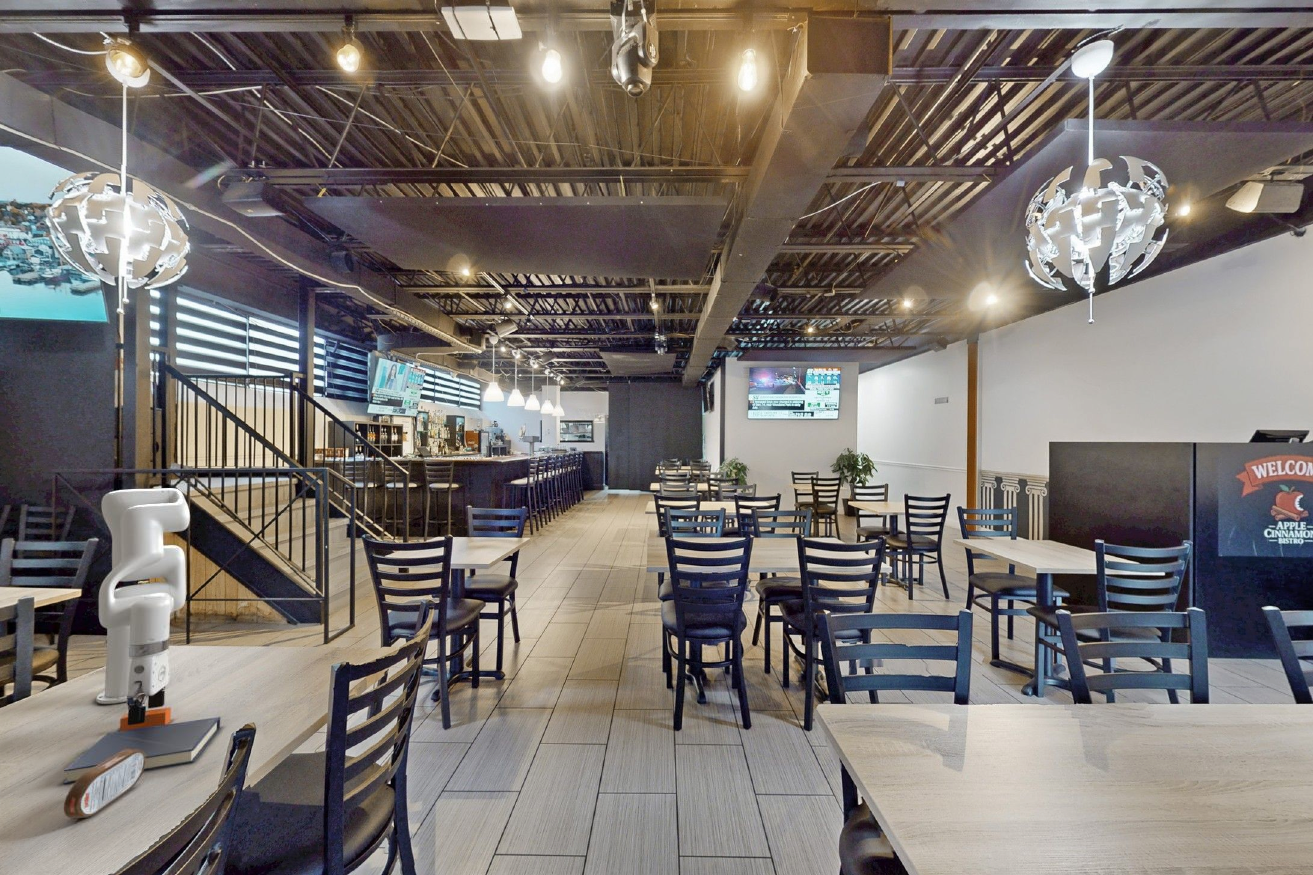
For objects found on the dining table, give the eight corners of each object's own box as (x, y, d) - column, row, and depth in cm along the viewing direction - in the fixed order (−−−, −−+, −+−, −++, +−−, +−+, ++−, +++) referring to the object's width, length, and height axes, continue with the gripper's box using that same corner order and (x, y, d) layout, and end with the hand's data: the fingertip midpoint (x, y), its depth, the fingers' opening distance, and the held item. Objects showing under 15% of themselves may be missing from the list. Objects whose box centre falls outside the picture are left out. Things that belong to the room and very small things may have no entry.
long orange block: (126, 727, 136) (126, 713, 136) (170, 720, 139) (171, 707, 139) (119, 732, 133) (120, 718, 133) (165, 726, 136) (165, 712, 136)
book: (107, 745, 127) (108, 732, 127) (220, 728, 136) (220, 716, 136) (63, 784, 112) (64, 770, 112) (192, 762, 121) (193, 749, 121)
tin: (133, 779, 114) (134, 740, 114) (148, 779, 114) (150, 740, 115) (60, 828, 99) (62, 783, 99) (78, 828, 99) (81, 782, 100)
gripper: (151, 656, 130) (148, 727, 129) (182, 635, 146) (180, 698, 145) (111, 661, 127) (108, 733, 126) (147, 639, 143) (145, 703, 142)
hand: (146, 714), depth 136 cm, fingers open, 9 cm apart
